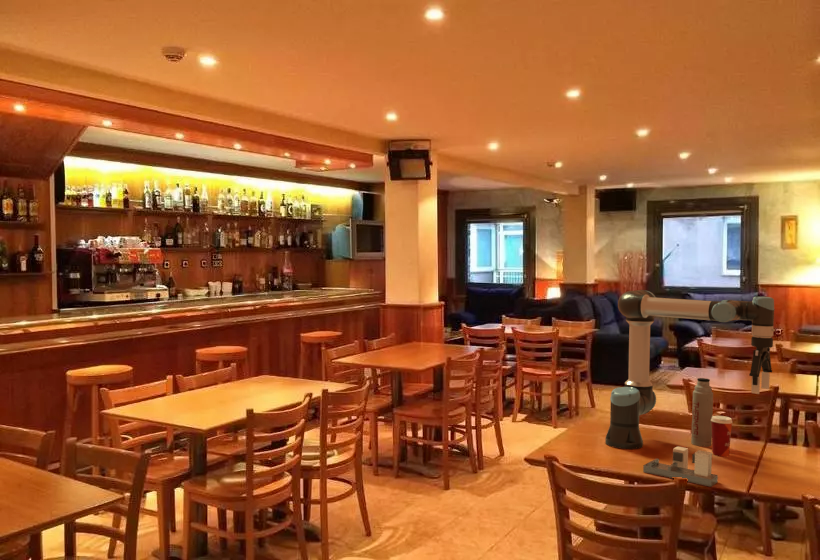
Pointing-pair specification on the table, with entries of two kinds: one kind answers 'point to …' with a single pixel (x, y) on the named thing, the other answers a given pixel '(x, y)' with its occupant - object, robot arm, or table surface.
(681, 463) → the cream rectangular block
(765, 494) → the table surface
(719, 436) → the coffee cup
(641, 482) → the table surface
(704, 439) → the thermos bottle
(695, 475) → the rail
